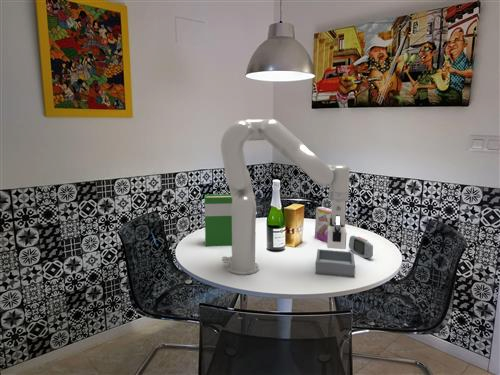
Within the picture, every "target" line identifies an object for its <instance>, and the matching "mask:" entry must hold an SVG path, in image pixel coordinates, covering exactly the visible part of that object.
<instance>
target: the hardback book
mask: <svg viewBox="0 0 500 375" xmlns="http://www.w3.org/2000/svg"><path fill="white" fill-rule="evenodd" d="M204 236H205V237H204V238H205V239H204V240H205V241H204V242H205V247H232V197H231V193H223V194H220V193H219V194H217V193H216V194H211V193H210V194H204Z"/></svg>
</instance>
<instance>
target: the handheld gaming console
mask: <svg viewBox="0 0 500 375" xmlns="http://www.w3.org/2000/svg"><path fill="white" fill-rule="evenodd" d="M348 248H349V250H351V252H353V254H355V255H356V256H359V257H361V258H364V259H365V258H366V259H371V258H372V257H373V256H374V245H373V244H372V242H371V243H370V242H369V241H368V239H365V238H364V237H361V236H356V235H351V236H350V237H349V241H348Z"/></svg>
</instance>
